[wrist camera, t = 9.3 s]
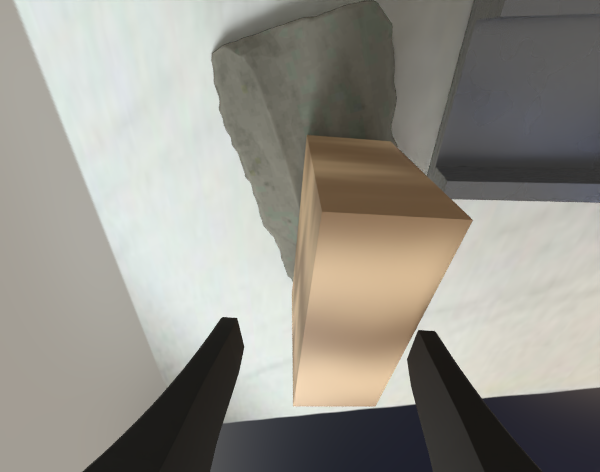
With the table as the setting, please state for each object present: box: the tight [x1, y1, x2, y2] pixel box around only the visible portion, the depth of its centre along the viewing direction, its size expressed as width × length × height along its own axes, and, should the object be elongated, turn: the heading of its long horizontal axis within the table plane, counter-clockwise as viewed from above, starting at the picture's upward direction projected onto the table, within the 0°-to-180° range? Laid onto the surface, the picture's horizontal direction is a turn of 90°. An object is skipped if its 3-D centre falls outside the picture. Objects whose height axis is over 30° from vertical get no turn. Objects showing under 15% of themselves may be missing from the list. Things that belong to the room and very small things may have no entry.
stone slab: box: [211, 0, 397, 281], centre depth 19 cm, size 22×3×10 cm
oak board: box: [292, 135, 473, 406], centre depth 15 cm, size 12×4×8 cm, turn 175°
